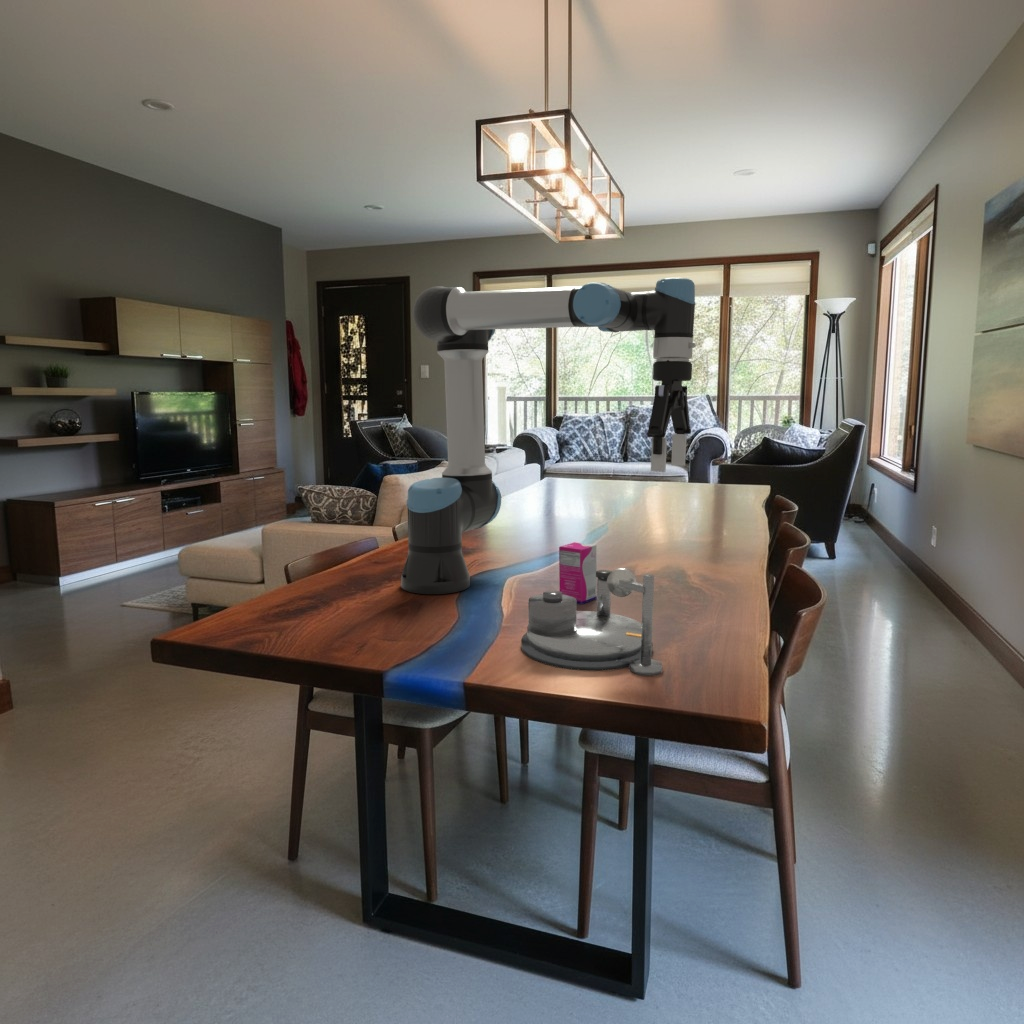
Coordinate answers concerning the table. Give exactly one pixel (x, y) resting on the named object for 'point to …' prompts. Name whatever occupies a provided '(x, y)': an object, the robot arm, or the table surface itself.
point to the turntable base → (576, 664)
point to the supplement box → (578, 571)
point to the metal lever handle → (621, 586)
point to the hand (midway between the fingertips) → (668, 468)
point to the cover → (552, 614)
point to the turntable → (594, 632)
